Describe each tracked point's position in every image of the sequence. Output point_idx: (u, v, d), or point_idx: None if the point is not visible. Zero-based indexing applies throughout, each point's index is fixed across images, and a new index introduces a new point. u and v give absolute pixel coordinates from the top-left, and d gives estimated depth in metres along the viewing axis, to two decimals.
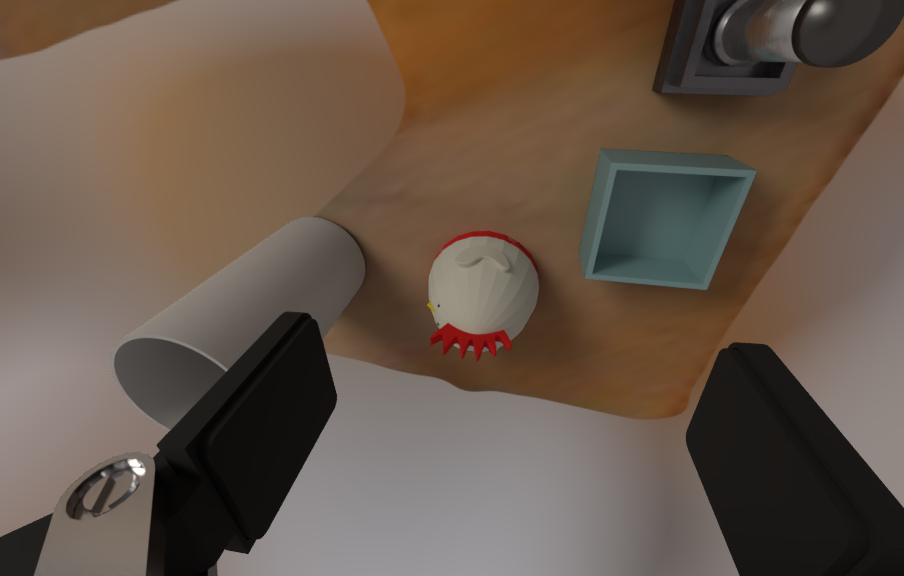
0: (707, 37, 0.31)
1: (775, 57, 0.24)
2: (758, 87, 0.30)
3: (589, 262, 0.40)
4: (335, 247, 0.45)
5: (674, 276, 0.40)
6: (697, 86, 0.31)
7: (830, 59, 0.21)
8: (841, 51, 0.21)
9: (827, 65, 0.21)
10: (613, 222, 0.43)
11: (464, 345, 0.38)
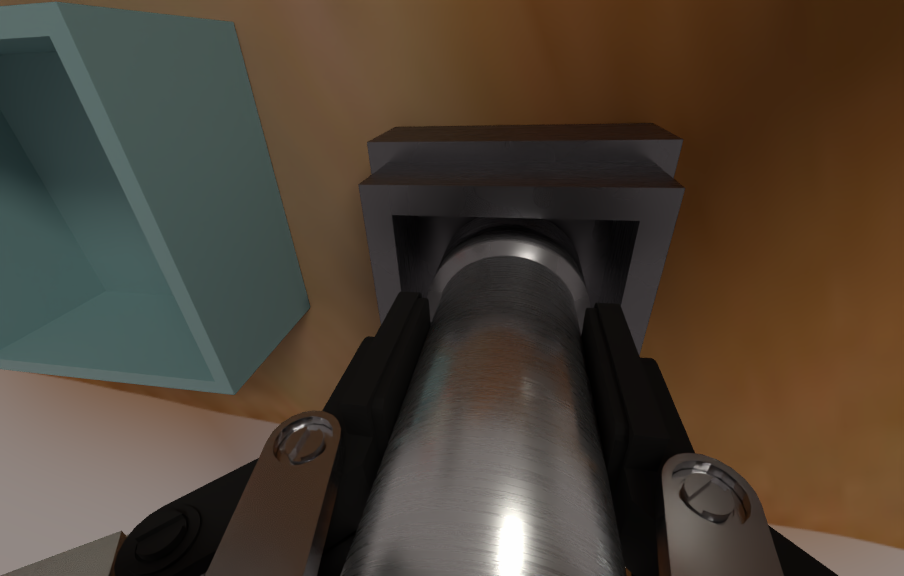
0: (496, 219, 0.12)
1: (365, 511, 0.06)
2: None
3: None
4: None
5: None
6: (368, 230, 0.11)
7: None
8: None
9: None
10: (80, 116, 0.16)
11: None
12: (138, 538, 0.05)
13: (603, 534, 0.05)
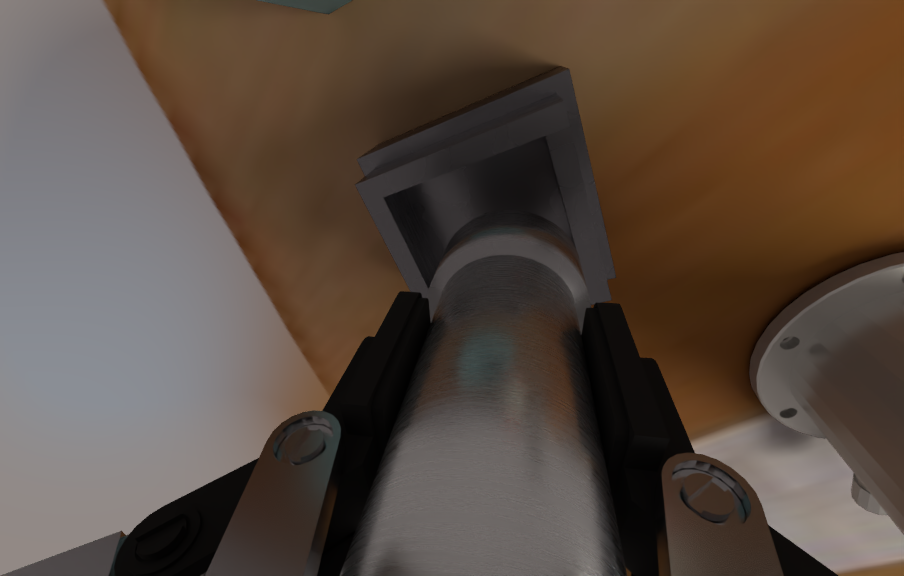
0: (499, 218, 0.12)
1: (366, 508, 0.06)
2: (404, 169, 0.14)
3: None
4: None
5: None
6: (525, 119, 0.12)
7: None
8: None
9: None
10: None
11: None
12: (137, 538, 0.05)
13: (607, 538, 0.05)
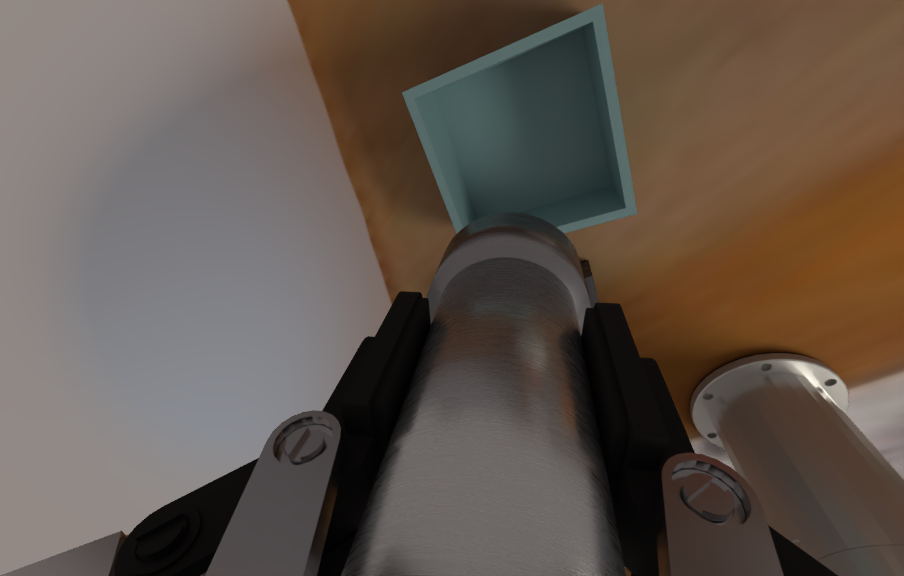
0: (499, 220, 0.12)
1: (365, 514, 0.06)
2: None
3: (607, 44, 0.21)
4: None
5: (451, 83, 0.24)
6: None
7: None
8: None
9: None
10: (561, 102, 0.28)
11: None
12: (138, 538, 0.05)
13: (607, 545, 0.05)
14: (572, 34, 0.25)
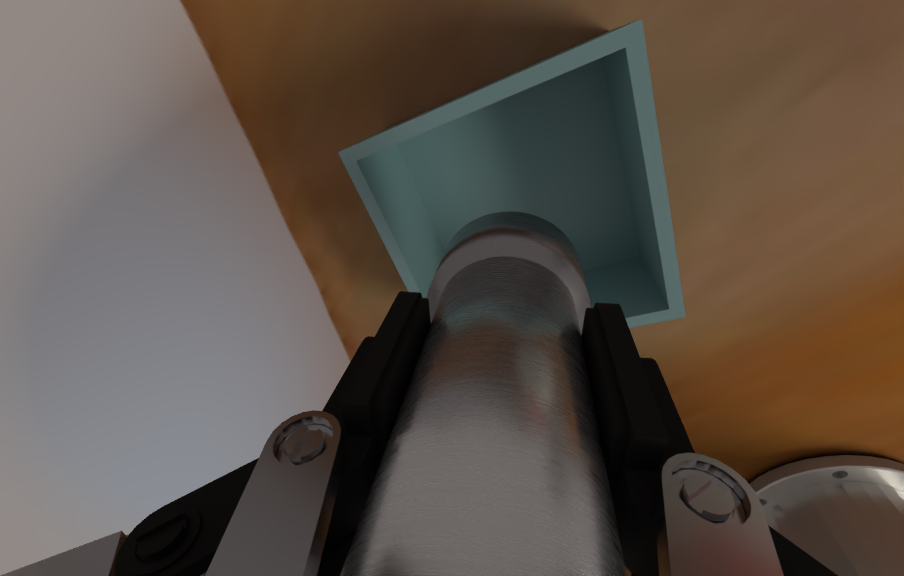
0: (499, 220, 0.12)
1: (364, 514, 0.06)
2: None
3: (648, 82, 0.13)
4: None
5: None
6: None
7: None
8: None
9: None
10: (571, 151, 0.20)
11: None
12: (138, 538, 0.05)
13: (608, 545, 0.05)
14: None
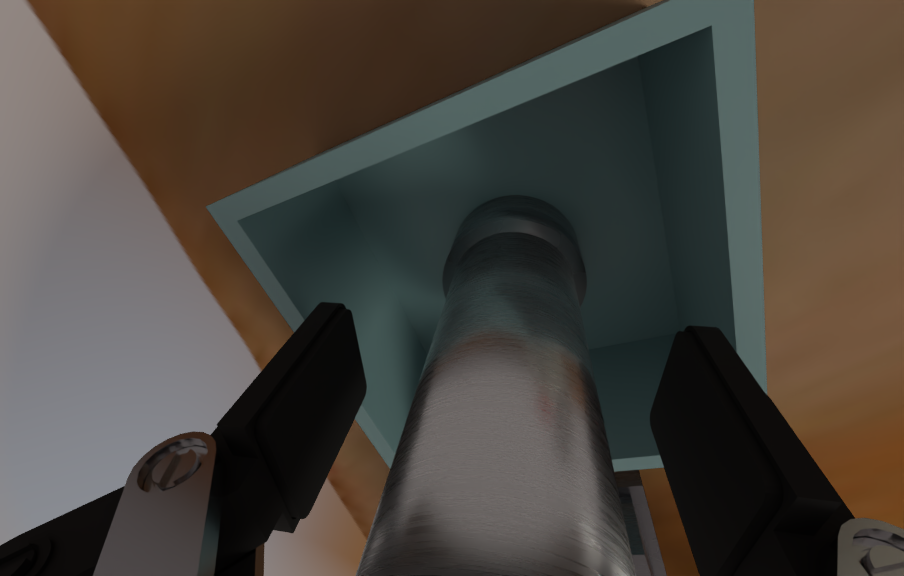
0: (506, 202, 0.13)
1: (410, 415, 0.07)
2: None
3: (750, 94, 0.07)
4: None
5: None
6: None
7: None
8: None
9: None
10: (584, 189, 0.13)
11: None
12: None
13: (596, 427, 0.07)
14: None
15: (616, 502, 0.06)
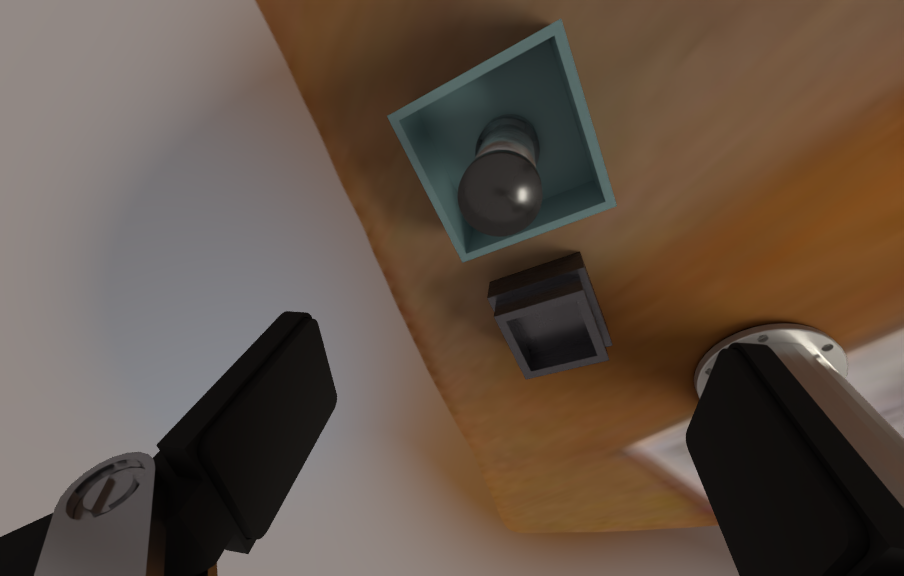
0: (502, 116, 0.29)
1: None
2: (516, 311, 0.33)
3: (570, 54, 0.23)
4: None
5: None
6: (567, 295, 0.32)
7: (464, 194, 0.20)
8: (471, 200, 0.20)
9: (458, 194, 0.20)
10: (537, 107, 0.29)
11: None
12: None
13: (529, 153, 0.23)
14: (540, 44, 0.27)
15: (531, 161, 0.22)
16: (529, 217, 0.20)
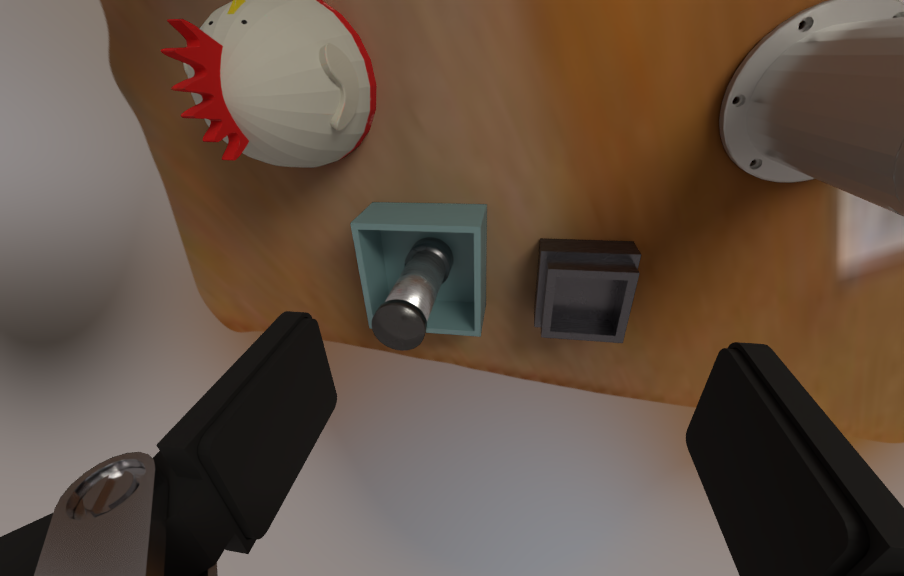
0: None
1: None
2: (544, 320, 0.38)
3: (370, 224, 0.35)
4: None
5: (374, 300, 0.41)
6: (547, 281, 0.36)
7: (389, 343, 0.32)
8: (394, 342, 0.32)
9: (388, 346, 0.32)
10: (414, 230, 0.41)
11: (197, 88, 0.24)
12: None
13: (401, 283, 0.34)
14: None
15: (400, 289, 0.32)
16: (416, 319, 0.30)
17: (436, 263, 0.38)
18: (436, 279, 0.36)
